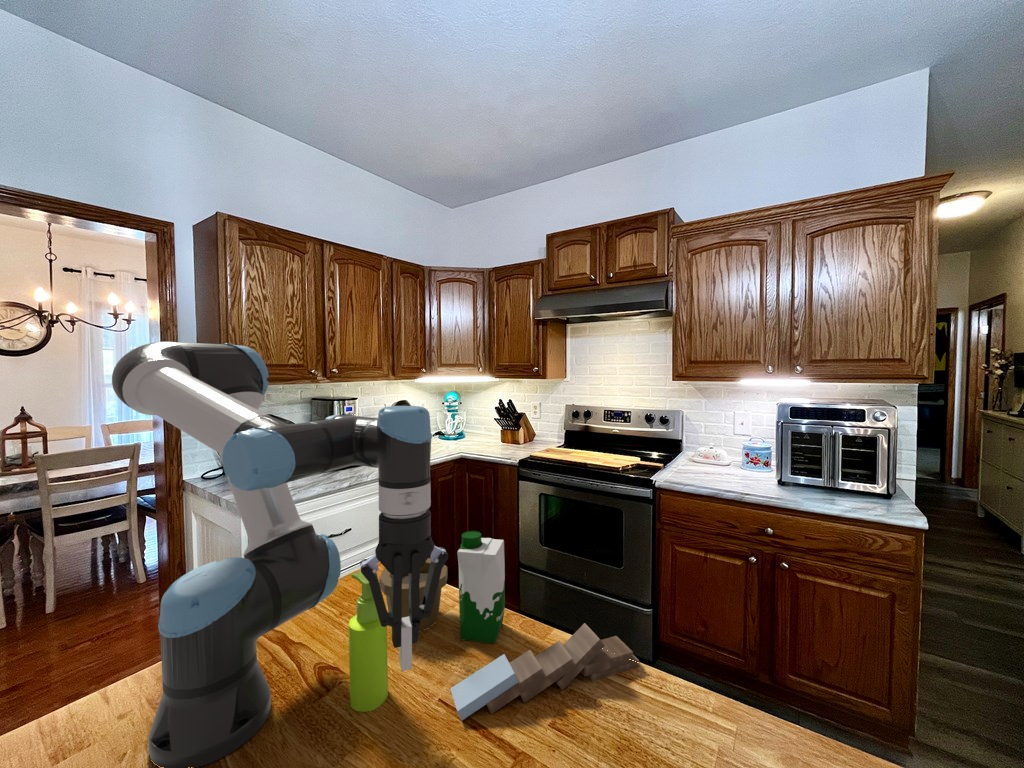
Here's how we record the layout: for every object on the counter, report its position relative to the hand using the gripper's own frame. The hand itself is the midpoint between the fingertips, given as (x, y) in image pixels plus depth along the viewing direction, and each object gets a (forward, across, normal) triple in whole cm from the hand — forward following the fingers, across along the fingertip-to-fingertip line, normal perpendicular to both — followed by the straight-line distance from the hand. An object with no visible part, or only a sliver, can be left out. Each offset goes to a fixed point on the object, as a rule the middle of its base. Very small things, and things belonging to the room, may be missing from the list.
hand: (405, 664), depth 65 cm
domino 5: (+7, +30, -1) cm, 30 cm away
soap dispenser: (+10, -5, +8) cm, 14 cm away
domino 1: (+8, +8, 0) cm, 11 cm away
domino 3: (+8, +18, -1) cm, 20 cm away
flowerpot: (+10, +6, +27) cm, 29 cm away
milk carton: (+10, +18, +17) cm, 27 cm away
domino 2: (+8, +12, -1) cm, 15 cm away
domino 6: (+9, +31, -1) cm, 32 cm away
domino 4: (+8, +25, -1) cm, 26 cm away
